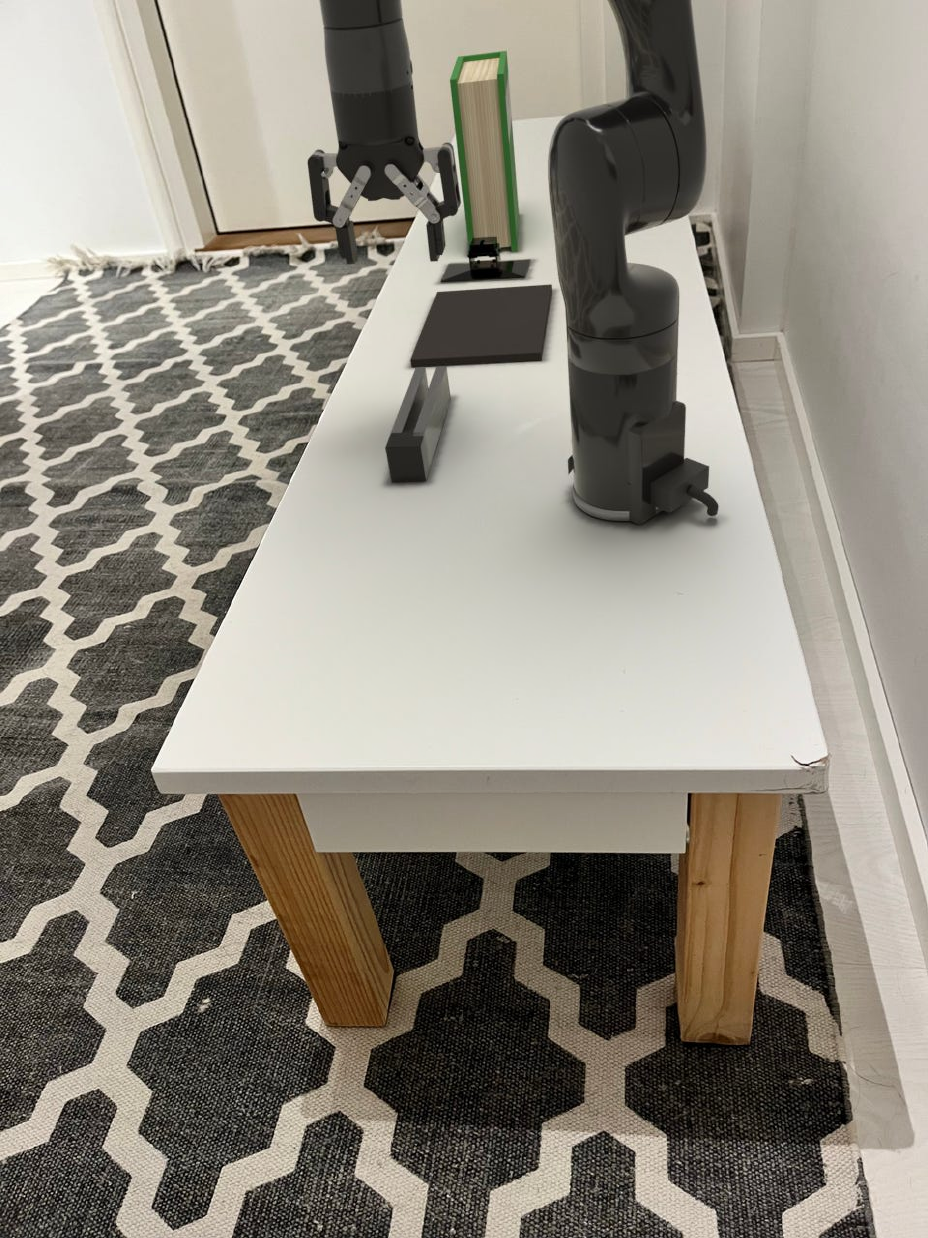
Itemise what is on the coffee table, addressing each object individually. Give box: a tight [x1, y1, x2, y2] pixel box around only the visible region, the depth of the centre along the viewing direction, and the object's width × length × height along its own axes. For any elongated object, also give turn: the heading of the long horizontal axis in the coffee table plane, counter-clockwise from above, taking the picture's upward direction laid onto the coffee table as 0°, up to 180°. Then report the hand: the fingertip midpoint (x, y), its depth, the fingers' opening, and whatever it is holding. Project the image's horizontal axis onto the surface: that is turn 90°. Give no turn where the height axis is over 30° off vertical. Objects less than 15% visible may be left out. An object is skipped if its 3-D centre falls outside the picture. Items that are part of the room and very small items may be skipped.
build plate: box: [440, 237, 532, 284], centre depth 139 cm, size 12×7×5 cm, turn 80°
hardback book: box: [449, 50, 520, 253], centre depth 146 cm, size 18×7×24 cm, turn 177°
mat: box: [409, 283, 553, 368], centre depth 125 cm, size 22×16×1 cm
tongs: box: [384, 365, 452, 483], centre depth 102 cm, size 18×4×4 cm, turn 173°
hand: (394, 260), depth 97 cm, fingers open, 8 cm apart
